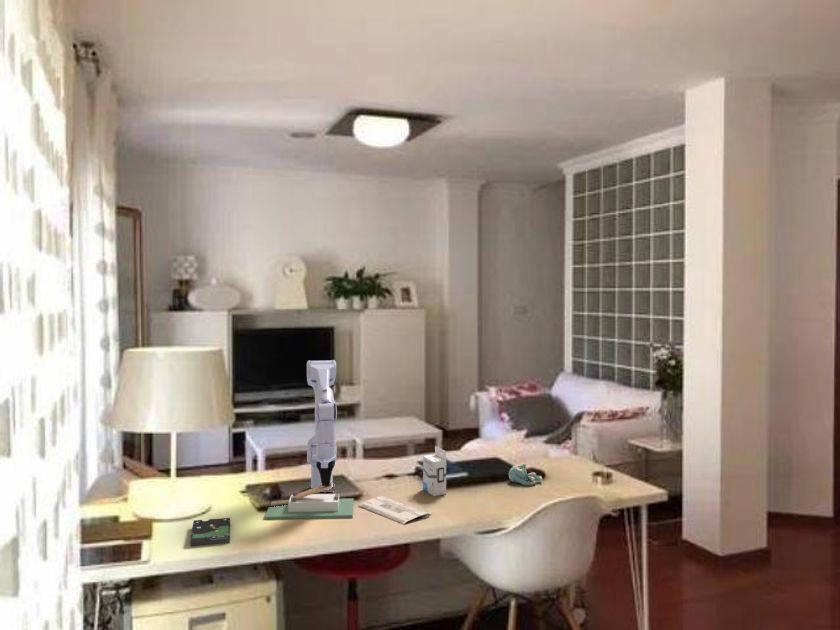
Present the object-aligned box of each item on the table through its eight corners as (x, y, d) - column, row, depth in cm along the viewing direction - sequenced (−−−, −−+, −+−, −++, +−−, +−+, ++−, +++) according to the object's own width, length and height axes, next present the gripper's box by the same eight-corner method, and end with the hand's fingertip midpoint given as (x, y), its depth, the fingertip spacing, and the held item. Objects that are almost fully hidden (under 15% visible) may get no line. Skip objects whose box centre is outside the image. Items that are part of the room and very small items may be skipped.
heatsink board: (272, 502, 220) (272, 487, 219) (353, 500, 222) (353, 486, 221) (264, 519, 204) (264, 503, 203) (352, 517, 206) (352, 501, 205)
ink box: (422, 489, 234) (422, 447, 234) (435, 487, 236) (435, 445, 236) (433, 496, 227) (433, 452, 226) (446, 494, 229) (447, 451, 228)
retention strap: (295, 496, 214) (294, 494, 214) (332, 483, 215) (331, 482, 215) (294, 500, 210) (293, 498, 210) (331, 487, 211) (330, 485, 211)
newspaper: (434, 517, 208) (434, 509, 208) (404, 530, 200) (403, 522, 200) (386, 499, 225) (386, 491, 225) (357, 510, 217) (356, 503, 217)
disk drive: (192, 530, 196) (190, 548, 182) (192, 520, 196) (190, 538, 182) (230, 526, 199) (230, 544, 185) (230, 517, 199) (230, 534, 185)
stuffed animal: (546, 472, 238) (512, 465, 238) (542, 491, 238) (508, 484, 239) (542, 463, 249) (509, 457, 249) (538, 482, 249) (505, 476, 249)
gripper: (314, 436, 219) (314, 478, 219) (310, 447, 204) (310, 492, 205) (336, 436, 219) (336, 478, 220) (334, 447, 205) (334, 491, 205)
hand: (325, 485), depth 212 cm, fingers closed, pressing on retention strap
